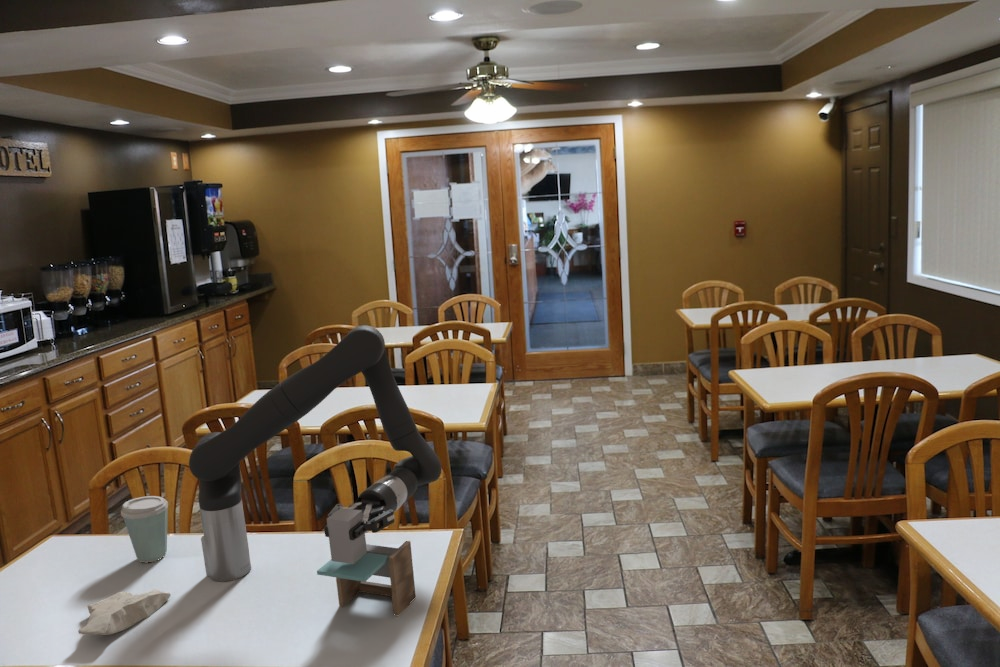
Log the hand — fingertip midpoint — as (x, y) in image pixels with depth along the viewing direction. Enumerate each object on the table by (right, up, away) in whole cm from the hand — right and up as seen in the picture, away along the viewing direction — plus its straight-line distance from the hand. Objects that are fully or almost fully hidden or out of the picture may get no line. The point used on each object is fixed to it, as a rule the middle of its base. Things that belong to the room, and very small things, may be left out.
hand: (338, 534), depth 154 cm
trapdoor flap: (+3, -12, +8) cm, 15 cm away
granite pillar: (+1, -5, +4) cm, 7 cm away
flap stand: (+5, -18, +14) cm, 23 cm away
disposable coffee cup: (-54, -17, +42) cm, 71 cm away
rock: (-50, -22, +14) cm, 56 cm away
